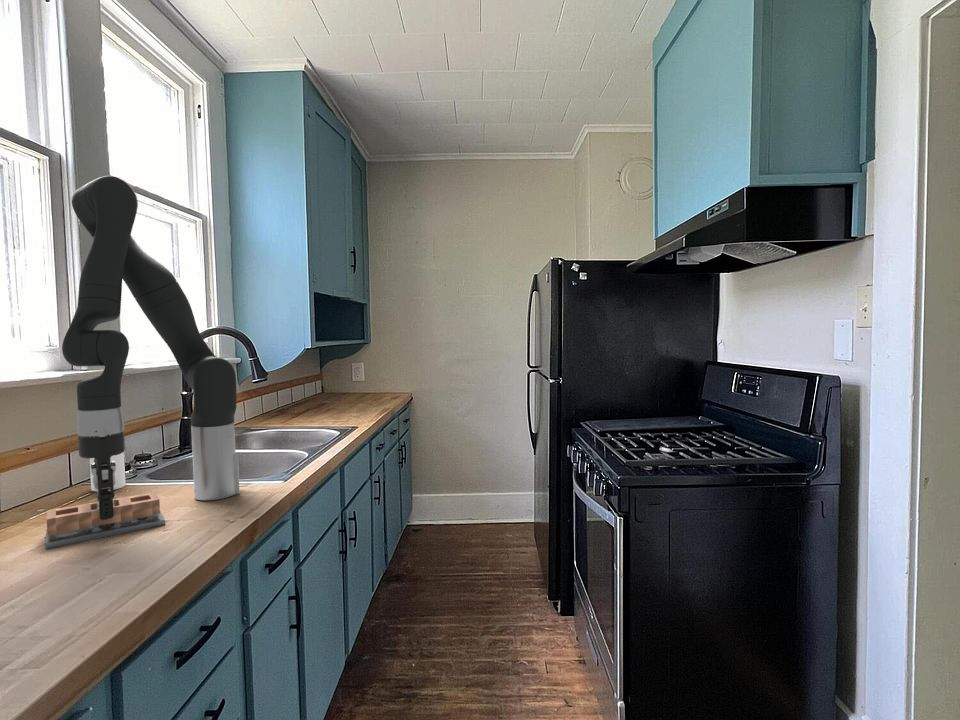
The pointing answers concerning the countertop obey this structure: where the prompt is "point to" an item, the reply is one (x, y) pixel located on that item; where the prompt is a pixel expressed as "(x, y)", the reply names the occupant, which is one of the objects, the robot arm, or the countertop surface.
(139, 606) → the countertop surface
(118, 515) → the wooden block with holes
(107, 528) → the post plate
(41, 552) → the countertop surface
